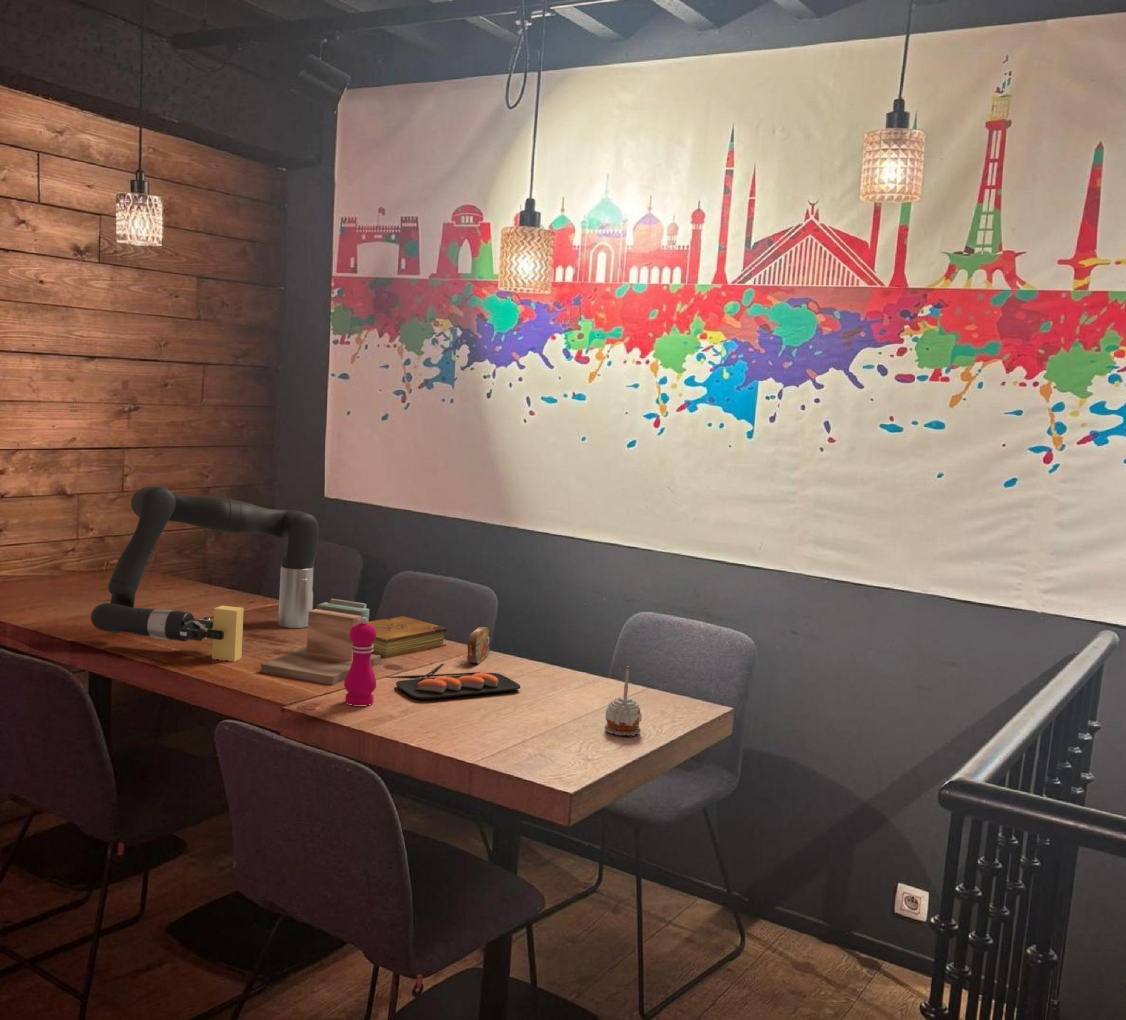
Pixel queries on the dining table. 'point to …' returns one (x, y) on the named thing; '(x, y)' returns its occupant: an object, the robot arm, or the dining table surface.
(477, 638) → the tin
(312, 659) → the blocks on base plate
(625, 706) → the caramel apple
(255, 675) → the dining table surface
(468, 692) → the sushi plate
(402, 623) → the diary
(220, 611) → the tall mustard yellow pillar
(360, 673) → the pepper mill
